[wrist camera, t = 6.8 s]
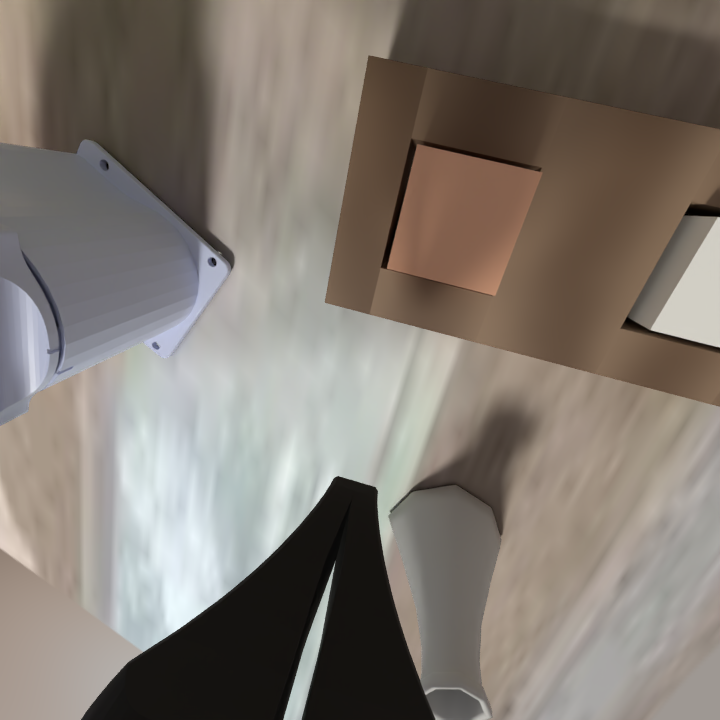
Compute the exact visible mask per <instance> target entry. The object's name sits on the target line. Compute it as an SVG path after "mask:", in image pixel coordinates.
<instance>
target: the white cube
mask: <svg viewBox="0 0 720 720" xmlns="http://www.w3.org/2000/svg"><path fill="white" fill-rule="evenodd" d="M627 317H628V318H630V319H631V320H633V321H635V322H637V323H639V324H640V325H642V326H644V327H646V328H647V329H649V330H652V331H656V332H660V333H664V334H668V335H672V336H676V337H680V338H684V339H688V340H692V341H696V342H700V343H704V344H708V345H712V346H716V347H720V217H706V216H683V218H682V219H681V221H680V223H679V225H678V227H677V228H676V230H675V232H674V234H673V236H672V237H671V239H670V241H669V243H668V244H667V246H666V248H665V250H664V252H663V253H662V255H661V257H660V259H659V260H658V262H657V264H656V266H655V268H654V269H653V271H652V273H651V275H650V276H649V278H648V280H647V282H646V284H645V285H644V287H643V289H642V291H641V293H640V294H639V296H638V298H637V300H636V301H635V303H634V305H633V307H632V309H631V310H630V312H629V314H628V316H627Z"/></svg>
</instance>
